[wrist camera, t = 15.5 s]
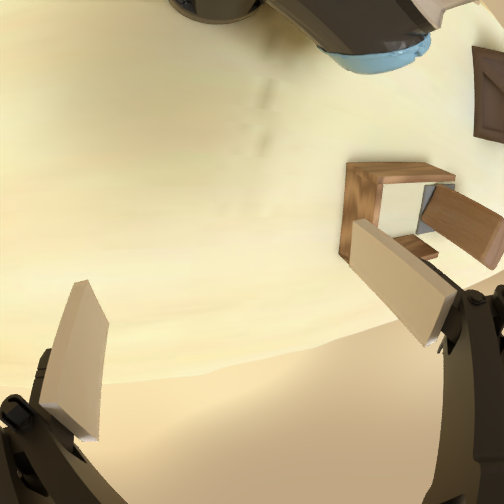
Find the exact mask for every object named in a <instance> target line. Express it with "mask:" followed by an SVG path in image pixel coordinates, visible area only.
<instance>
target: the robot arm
mask: <svg viewBox="0 0 504 504" xmlns="http://www.w3.org/2000/svg"><path fill="white" fill-rule="evenodd" d="M169 1H170V3H171V4H172V6H173V7H174V8H175V9H176V10H177V11H178V12H180V13H181V14H182V15H184V16H186V17H188V18H190V19H192V20H195V21H198V22H202V23H208V24H227V23H233V22H237V21H240V20H243V19H245V18H247V17H249V16H251V15H252V14H254V13H255V12H256V11H257V10H258V9H259V8H260V7H262V6H263V5H264V3H267V4H268V5H270V6H271V7H272V8H274V9H275V10H276V11H277V12H279V13H280V14H281V15H283V16H284V17H285V18H286V19H288V20H289V21H290V22H291V23H292V24H294V25H295V26H296V27H297V28H298V29H300V30H301V31H302V32H303V33H304V34H305V35H307V36H308V37H309V38H310V39H311V40H312V41H313V42H314V43H315V44H316V45H317V47H318V48H319V49H320V50H321V51H322V52H324V53H326V54H328V55H329V56H330V57H331V58H332V59H333V60H334V61H336V62H337V63H338V64H339V65H340V66H341V67H342V68H344V69H346V70H348V71H351V72H354V73H357V74H368V75H369V74H380V73H385V72H389V71H393V70H396V69H399V68H401V67H404V66H406V65H408V64H410V63H412V62H414V61H415V57H418V56H422V55H423V54H424V53H425V52H426V51H427V50H428V49H429V46H430V44H431V37H430V32H432V31H434V30H437V29H440V28H441V23H442V19H443V14H444V12H445V11H446V10H448V9H451V8H454V7H457V6H460V5H464V4H467V3H470V2H474V1H477V0H268V1H267V0H169ZM349 267H350V268H351V269H352V270H353V271H354V272H355V273H356V274H357V275H358V276H359V277H360V278H361V279H362V280H363V281H364V282H365V283H366V284H367V285H368V286H369V287H370V288H371V289H372V291H373V292H374V293H375V294H376V295H377V296H378V297H379V298H380V299H381V300H382V301H383V302H384V303H385V304H386V305H387V307H388V308H389V309H390V310H391V311H392V312H393V313H394V314H395V315H396V316H397V317H398V319H399V320H400V321H401V322H402V323H403V324H404V325H405V326H406V327H407V329H408V330H409V331H410V332H411V333H412V334H413V335H414V336H415V338H416V339H417V340H418V341H419V342H420V343H421V344H422V346H423V347H424V348H425V347H427V346H428V345H430V344H432V343H434V342H435V341H436V340H437V338H438V336H439V334H440V332H441V331H442V332H443V333H444V334H445V336H444V338H443V340H442V342H441V344H440V346H439V348H438V352H437V353H440V351H441V349H442V348H443V355H444V389H443V409H442V422H441V433H440V442H439V449H438V456H437V463H436V469H435V474H434V479H433V483H432V485H431V487H430V489H429V490H428V492H427V493H426V495H425V498H424V500H423V502H422V504H504V336H503V335H502V333H501V332H502V330H503V328H504V285H498V286H497V287H496V289H495V292H494V294H493V295H489V296H484V295H483V294H482V293H480V292H479V291H476V290H466V291H464V290H463V289H461V288H460V287H459V286H458V285H457V284H456V283H454V282H453V281H452V280H451V279H450V278H448V277H447V276H446V275H445V274H443V273H442V272H441V271H440V270H439V269H437V268H436V267H435V266H434V265H433V264H431V263H430V262H428V261H426V260H424V259H422V258H420V257H419V258H417V257H416V256H415V255H413V254H412V253H411V252H409V251H408V250H407V249H406V248H404V247H403V246H402V245H400V244H399V243H398V242H396V241H395V240H394V239H392V238H391V237H390V236H388V235H387V234H386V233H384V232H383V231H382V230H380V229H379V228H377V227H376V226H375V225H373V224H372V223H370V222H369V221H368V220H366V219H360V220H355V221H353V226H352V239H351V251H350V261H349ZM108 328H109V322H108V320H107V318H106V316H105V314H104V312H103V311H102V309H101V307H100V305H99V302H98V300H97V298H96V296H95V294H94V292H93V290H92V288H91V286H90V283H89V281H88V280H85V281H81V282H76V283H74V285H73V288H72V290H71V293H70V296H69V298H68V301H67V304H66V307H65V309H64V312H63V315H62V318H61V321H60V324H59V327H58V330H57V333H56V337H55V340H54V343H53V347H52V348H50V349H46V350H45V352H44V353H43V355H42V357H41V358H40V361H39V364H38V368H37V369H38V371H36V375H35V378H36V379H34V383H33V387H32V391H31V396H30V400H29V404H28V403H27V402H26V401H25V400H24V399H23V398H22V397H21V396H20V395H18V394H14V395H10V396H8V397H7V398H6V399H5V400H4V401H3V402H2V404H1V407H0V420H1V421H2V422H3V423H5V424H6V425H7V426H8V427H5V428H2V427H1V426H0V504H128V503H127V502H126V501H125V500H124V499H123V498H122V497H121V496H120V495H119V494H118V493H117V492H116V491H115V490H114V489H113V488H112V487H111V486H110V485H109V484H108V483H107V482H106V480H105V479H104V478H103V477H102V476H101V475H100V474H99V472H98V471H97V470H96V469H95V468H94V466H93V465H92V464H91V463H90V462H89V460H88V459H87V458H86V457H85V456H84V454H83V453H82V452H81V450H80V449H79V447H78V446H77V445H76V444H75V443H74V435H75V436H76V437H77V438H78V439H80V440H81V441H99V416H100V399H101V386H102V375H103V365H104V356H105V349H106V341H107V334H108ZM17 471H18V472H17ZM18 475H19V476H18Z"/></svg>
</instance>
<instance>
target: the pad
mask: <svg viewBox="0 0 504 504" xmlns="http://www.w3.org/2000/svg"><path fill="white" fill-rule="evenodd" d="M440 185H444V186H446V187H448V188H450V189H452V190H454V189H455V184H440ZM436 186H437V185H425V187H424V193H423V199H422V205H421V210H420V216H419V221H418V226H417V231H416V234H417V235H418V234H423V233H428V232H432V231H435V230H434V229H432V228H431V227H429V226H428V225H427V224H425V223H424V222H423V221H422V219H421V218H422V215H423V213H424V211H425V209H426V207H427V205H428V203H429V201H430V199H431V197H432V195H433V193H434V191H435V188H436Z"/></svg>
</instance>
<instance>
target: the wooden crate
mask: <svg viewBox="0 0 504 504" xmlns="http://www.w3.org/2000/svg"><path fill="white" fill-rule="evenodd" d="M472 55H473V67H474V89H475V112H474V135H473V136H474V137H478V138H482V139H486V140H490V141H495V142H499V143H503V144H504V53H503V52H499V51H495V50H490V49H485V48H480V47H475V46H472Z"/></svg>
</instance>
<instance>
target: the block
mask: <svg viewBox="0 0 504 504" xmlns="http://www.w3.org/2000/svg"><path fill="white" fill-rule="evenodd" d="M421 219H422V221H423V222H424V223H425V224H427V225H428V226H429V227H431V228H432V229H434V230H435V231H437V232H438V233H439V234H441V235H442V236H444V237H445V238H447V239H448V240H450V241H451V242H453V243H454V244H456V245H457V246H459V247H460V248H461V249H463V250H464V251H466V252H467V253H468V254H470V255H471V256H473V257H474V258H475V259H477V260H478V261H479V262H481V263H482V264H483V265H485V266H486V267H487V268H489V269H490V270H494V269H495V268H496V266H497V264H498V262H499V261H500V259H501V257H502V255H503V253H504V218H503V217H502V216H500V215H499V214H497V213H495V212H493V211H492V210H490V209H488V208H486V207H485V206H483V205H481V204H479V203H477V202H475V201H473V200H472V199H470V198H468V197H466V196H464V195H462V194H460V193H458V192H456V191H454V190H452V189H450V188H448V187H446V186H444V185H440V184H438V185H437V186H436V188H435V191H434V193H433V195H432V197H431V199H430V201H429V203H428V205H427V207H426V209H425V211H424V213H423V215H422V218H421Z"/></svg>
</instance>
